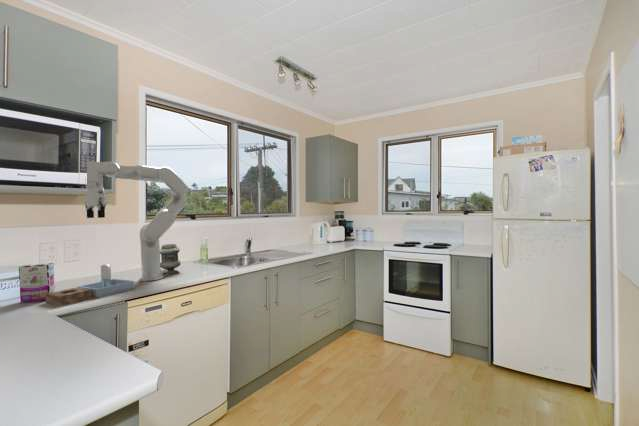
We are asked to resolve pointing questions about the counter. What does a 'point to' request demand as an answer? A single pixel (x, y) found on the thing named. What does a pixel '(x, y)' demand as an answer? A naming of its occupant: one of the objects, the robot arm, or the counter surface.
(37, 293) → the candy bar box
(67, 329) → the counter surface
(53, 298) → the socket block
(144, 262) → the robot arm
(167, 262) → the stone urn
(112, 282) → the tray
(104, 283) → the pin
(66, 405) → the counter surface
